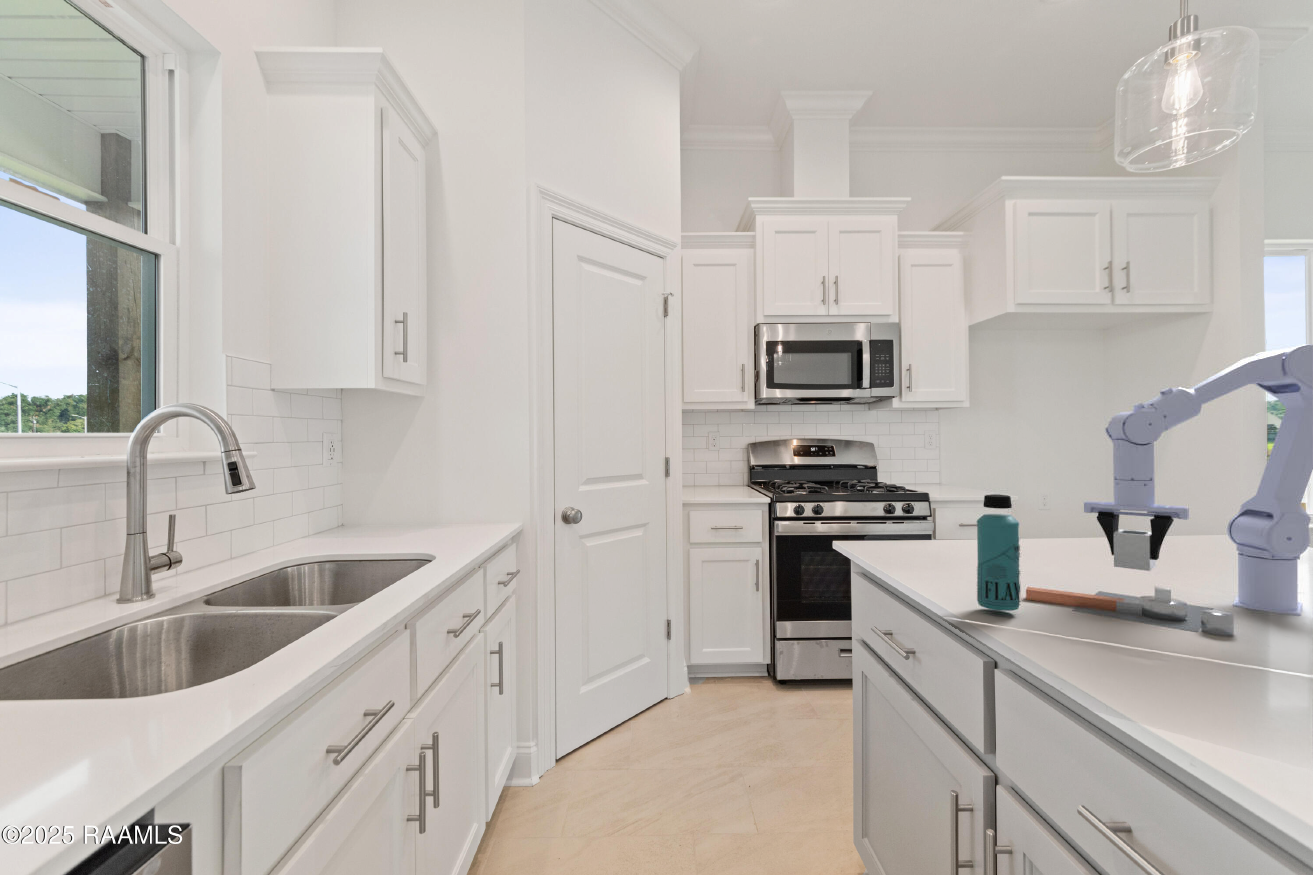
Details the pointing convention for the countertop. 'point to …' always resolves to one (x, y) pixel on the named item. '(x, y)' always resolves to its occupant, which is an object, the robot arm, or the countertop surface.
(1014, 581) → the beverage bottle
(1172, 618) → the ratchet
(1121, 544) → the socket
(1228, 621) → the socket
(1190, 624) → the mat
